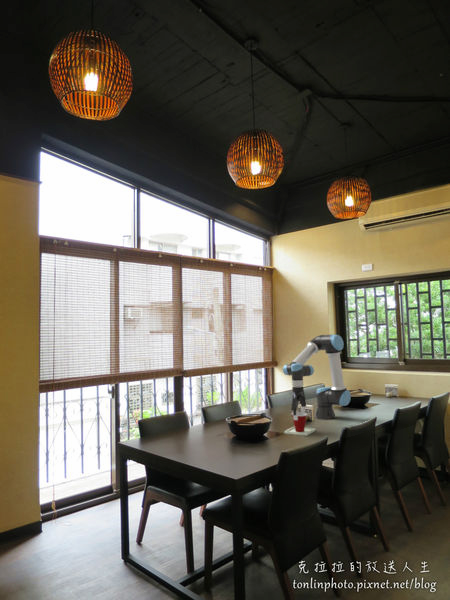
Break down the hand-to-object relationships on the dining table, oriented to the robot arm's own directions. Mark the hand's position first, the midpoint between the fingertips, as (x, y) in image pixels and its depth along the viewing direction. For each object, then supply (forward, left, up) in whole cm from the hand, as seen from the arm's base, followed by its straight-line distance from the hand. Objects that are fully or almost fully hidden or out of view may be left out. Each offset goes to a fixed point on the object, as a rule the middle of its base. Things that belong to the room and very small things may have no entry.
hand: (299, 418), depth 286 cm
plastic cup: (0, 0, -9) cm, 9 cm away
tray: (0, 0, -9) cm, 9 cm away
